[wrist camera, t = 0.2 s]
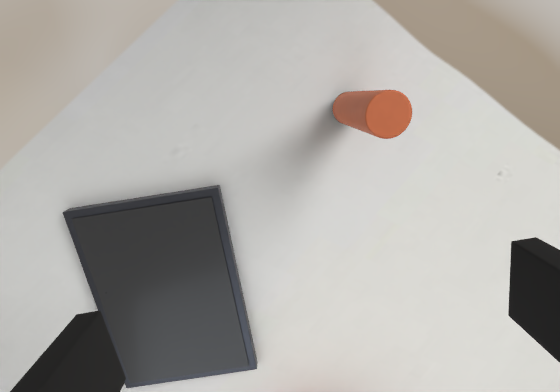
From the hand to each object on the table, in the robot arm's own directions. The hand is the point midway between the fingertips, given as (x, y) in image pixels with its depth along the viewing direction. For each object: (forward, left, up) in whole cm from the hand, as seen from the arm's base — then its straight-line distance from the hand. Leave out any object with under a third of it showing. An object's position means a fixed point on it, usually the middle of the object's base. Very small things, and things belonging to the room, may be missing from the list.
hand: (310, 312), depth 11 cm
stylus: (-5, +6, -20) cm, 22 cm away
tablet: (+10, -13, -20) cm, 26 cm away
